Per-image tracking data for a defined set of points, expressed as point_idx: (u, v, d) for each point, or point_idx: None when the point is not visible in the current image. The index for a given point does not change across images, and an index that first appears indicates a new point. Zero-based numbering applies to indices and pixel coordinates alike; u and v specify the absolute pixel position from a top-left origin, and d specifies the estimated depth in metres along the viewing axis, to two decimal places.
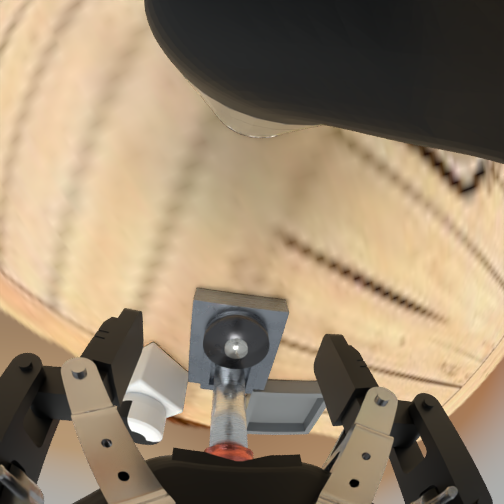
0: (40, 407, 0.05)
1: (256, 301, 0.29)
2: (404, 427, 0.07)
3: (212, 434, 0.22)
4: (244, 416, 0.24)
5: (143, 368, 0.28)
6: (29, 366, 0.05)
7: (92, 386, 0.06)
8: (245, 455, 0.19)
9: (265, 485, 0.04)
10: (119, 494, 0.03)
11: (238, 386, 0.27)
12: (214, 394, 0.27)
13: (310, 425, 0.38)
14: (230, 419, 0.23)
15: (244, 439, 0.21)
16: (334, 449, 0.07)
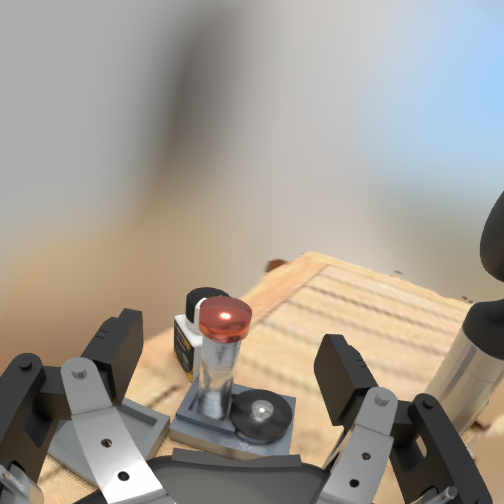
0: (40, 407, 0.05)
1: None
2: (404, 427, 0.07)
3: None
4: (224, 373, 0.24)
5: None
6: (29, 366, 0.05)
7: (92, 386, 0.06)
8: (242, 332, 0.23)
9: (265, 485, 0.04)
10: (119, 494, 0.03)
11: (227, 394, 0.26)
12: None
13: (51, 446, 0.16)
14: (237, 359, 0.25)
15: (230, 350, 0.23)
16: (334, 449, 0.07)
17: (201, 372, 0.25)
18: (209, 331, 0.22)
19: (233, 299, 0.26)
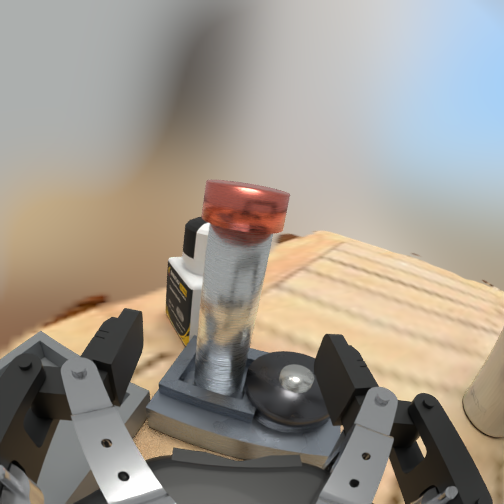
0: (40, 407, 0.05)
1: None
2: (404, 427, 0.07)
3: None
4: (242, 304, 0.15)
5: None
6: (29, 366, 0.05)
7: (92, 386, 0.06)
8: (276, 216, 0.14)
9: (265, 485, 0.04)
10: (119, 494, 0.03)
11: (243, 351, 0.17)
12: None
13: None
14: None
15: (253, 254, 0.14)
16: (334, 449, 0.07)
17: (202, 308, 0.16)
18: (221, 211, 0.13)
19: (257, 185, 0.17)
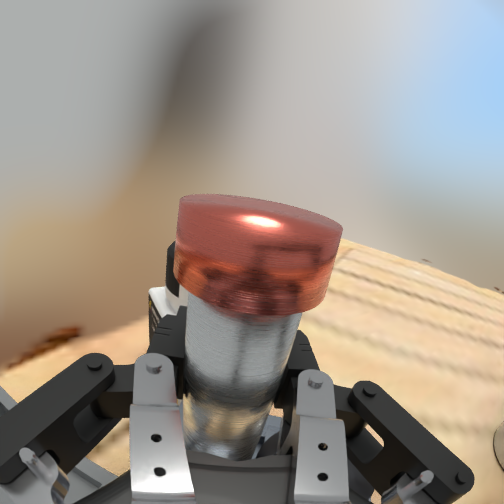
0: (100, 407, 0.07)
1: None
2: (342, 414, 0.07)
3: None
4: (250, 410, 0.08)
5: None
6: (100, 366, 0.07)
7: (173, 379, 0.07)
8: (321, 276, 0.07)
9: (265, 485, 0.04)
10: (147, 486, 0.03)
11: (251, 450, 0.10)
12: None
13: None
14: None
15: (273, 344, 0.07)
16: (281, 439, 0.08)
17: (186, 403, 0.09)
18: (207, 271, 0.06)
19: (275, 203, 0.10)
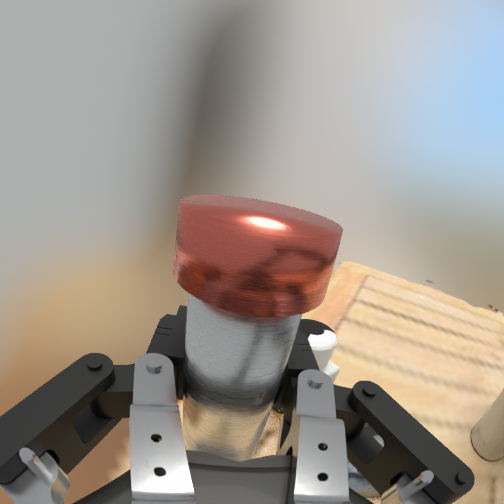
0: (100, 407, 0.06)
1: None
2: (342, 414, 0.07)
3: None
4: (250, 411, 0.08)
5: (334, 379, 0.31)
6: (100, 366, 0.07)
7: (173, 379, 0.07)
8: (321, 277, 0.07)
9: (265, 485, 0.04)
10: (147, 486, 0.03)
11: (251, 451, 0.10)
12: None
13: None
14: None
15: (273, 345, 0.07)
16: (281, 439, 0.08)
17: (186, 404, 0.09)
18: (207, 272, 0.06)
19: (275, 204, 0.10)
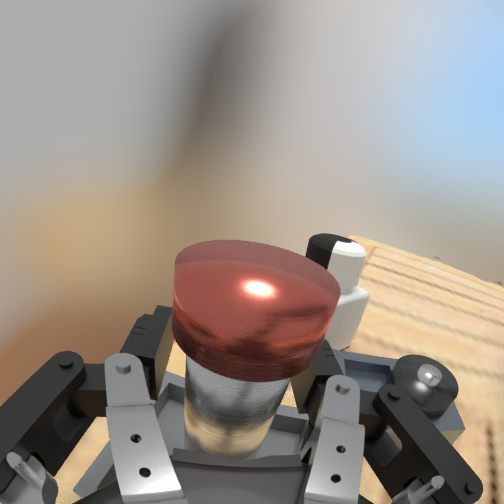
0: (75, 405, 0.06)
1: None
2: (368, 418, 0.07)
3: None
4: (246, 442, 0.08)
5: (364, 309, 0.28)
6: (70, 364, 0.06)
7: (140, 380, 0.07)
8: (315, 344, 0.07)
9: (265, 485, 0.04)
10: (135, 488, 0.03)
11: None
12: None
13: None
14: None
15: (267, 395, 0.07)
16: (303, 442, 0.07)
17: (187, 431, 0.09)
18: (204, 344, 0.06)
19: (274, 249, 0.09)
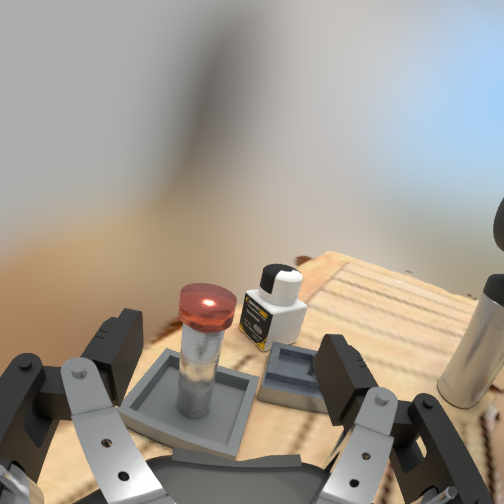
0: (40, 407, 0.05)
1: None
2: (404, 427, 0.07)
3: None
4: (205, 367, 0.22)
5: None
6: (29, 366, 0.05)
7: (92, 386, 0.06)
8: (224, 320, 0.21)
9: (265, 485, 0.04)
10: (119, 494, 0.03)
11: (208, 392, 0.24)
12: None
13: (145, 418, 0.21)
14: None
15: (211, 341, 0.21)
16: (334, 449, 0.07)
17: (180, 365, 0.23)
18: (189, 318, 0.20)
19: (217, 287, 0.24)
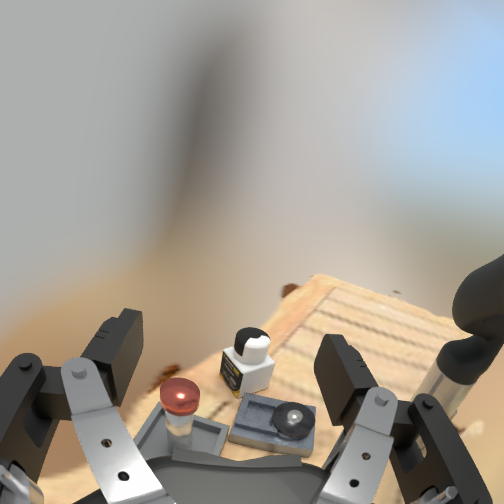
0: (40, 407, 0.05)
1: None
2: (404, 427, 0.07)
3: None
4: (182, 431, 0.28)
5: None
6: (29, 366, 0.05)
7: (92, 386, 0.06)
8: (191, 409, 0.26)
9: (265, 485, 0.04)
10: (119, 494, 0.03)
11: (187, 442, 0.30)
12: None
13: (144, 458, 0.27)
14: (192, 421, 0.29)
15: (184, 418, 0.27)
16: (334, 449, 0.07)
17: (166, 427, 0.29)
18: (167, 408, 0.26)
19: (187, 381, 0.29)
